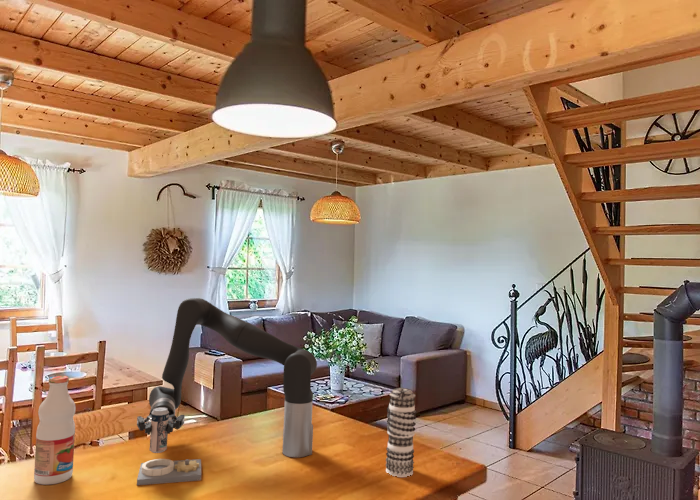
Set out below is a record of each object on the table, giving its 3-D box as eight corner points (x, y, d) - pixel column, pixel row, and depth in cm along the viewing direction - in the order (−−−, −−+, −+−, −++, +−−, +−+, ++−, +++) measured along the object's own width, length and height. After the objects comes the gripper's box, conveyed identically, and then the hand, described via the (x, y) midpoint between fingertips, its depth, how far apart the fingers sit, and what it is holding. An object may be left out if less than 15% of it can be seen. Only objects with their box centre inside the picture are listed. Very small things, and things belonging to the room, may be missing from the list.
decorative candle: (394, 479, 153) (398, 394, 154) (378, 468, 161) (382, 387, 162) (420, 475, 157) (423, 392, 158) (403, 464, 166) (406, 385, 166)
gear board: (200, 464, 159) (201, 451, 159) (201, 480, 147) (201, 467, 148) (141, 468, 154) (141, 455, 154) (136, 485, 143) (137, 471, 143)
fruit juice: (40, 472, 148) (46, 373, 149) (76, 470, 150) (81, 373, 151) (28, 486, 139) (34, 381, 140) (66, 484, 141) (72, 381, 142)
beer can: (160, 454, 147) (163, 412, 147) (145, 452, 148) (148, 410, 148) (170, 448, 152) (172, 407, 152) (155, 446, 153) (157, 405, 153)
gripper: (138, 401, 162) (132, 418, 146) (186, 400, 166) (185, 416, 150) (137, 425, 162) (130, 445, 145) (185, 423, 166) (184, 442, 150)
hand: (158, 430), depth 148 cm, fingers closed on beer can, 4 cm apart
